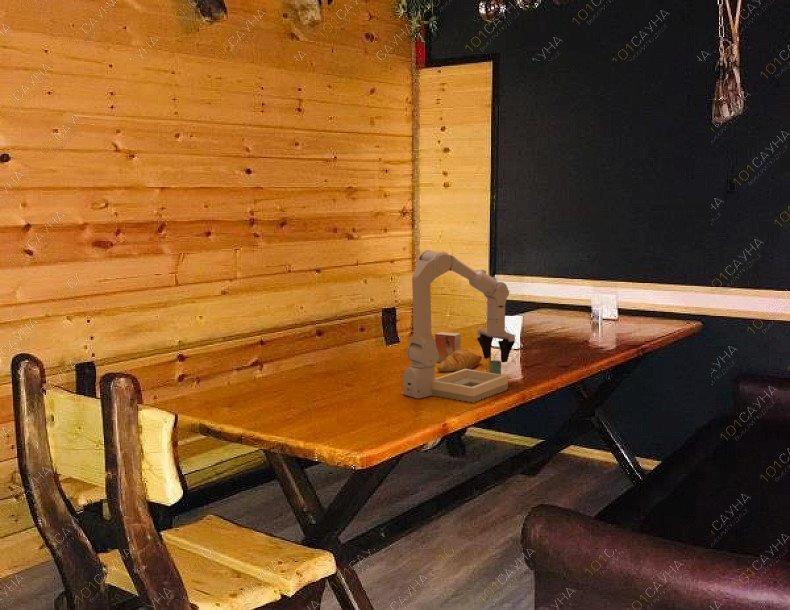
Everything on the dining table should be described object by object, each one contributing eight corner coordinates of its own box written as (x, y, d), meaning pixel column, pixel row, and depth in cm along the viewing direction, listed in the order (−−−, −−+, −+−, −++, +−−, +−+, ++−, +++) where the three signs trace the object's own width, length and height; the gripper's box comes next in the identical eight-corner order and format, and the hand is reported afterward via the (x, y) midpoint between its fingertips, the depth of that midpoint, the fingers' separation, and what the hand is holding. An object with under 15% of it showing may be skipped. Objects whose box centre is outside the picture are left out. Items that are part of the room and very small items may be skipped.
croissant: (444, 384, 280) (451, 366, 276) (425, 366, 285) (432, 348, 281) (485, 373, 294) (493, 355, 290) (467, 356, 299) (474, 338, 295)
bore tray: (473, 403, 242) (473, 388, 242) (429, 394, 252) (429, 380, 252) (507, 389, 258) (508, 375, 257) (465, 382, 268) (465, 368, 267)
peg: (495, 384, 264) (495, 363, 263) (487, 382, 267) (487, 361, 266) (503, 382, 267) (503, 361, 266) (495, 380, 269) (495, 359, 268)
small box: (434, 362, 298) (434, 333, 296) (440, 359, 303) (440, 331, 301) (454, 364, 294) (454, 335, 292) (461, 361, 299) (461, 332, 297)
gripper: (521, 319, 261) (520, 361, 263) (488, 314, 272) (488, 354, 274) (506, 322, 256) (505, 365, 258) (473, 316, 267) (473, 357, 269)
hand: (495, 360), depth 266 cm, fingers open, 7 cm apart
